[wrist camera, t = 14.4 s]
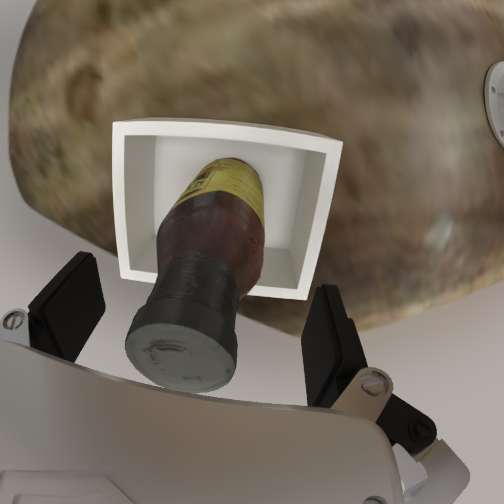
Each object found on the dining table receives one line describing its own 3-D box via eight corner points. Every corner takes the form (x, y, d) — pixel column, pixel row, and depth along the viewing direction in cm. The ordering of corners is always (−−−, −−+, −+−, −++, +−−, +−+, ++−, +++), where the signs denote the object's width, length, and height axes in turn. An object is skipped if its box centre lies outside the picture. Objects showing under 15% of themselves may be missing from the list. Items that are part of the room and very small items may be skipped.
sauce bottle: (210, 145, 24) (98, 240, 7) (273, 170, 25) (313, 318, 8) (187, 208, 27) (93, 373, 10) (246, 230, 28) (233, 419, 11)
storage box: (318, 133, 24) (343, 142, 17) (295, 254, 30) (306, 300, 23) (150, 117, 24) (113, 122, 17) (149, 238, 30) (121, 277, 23)
